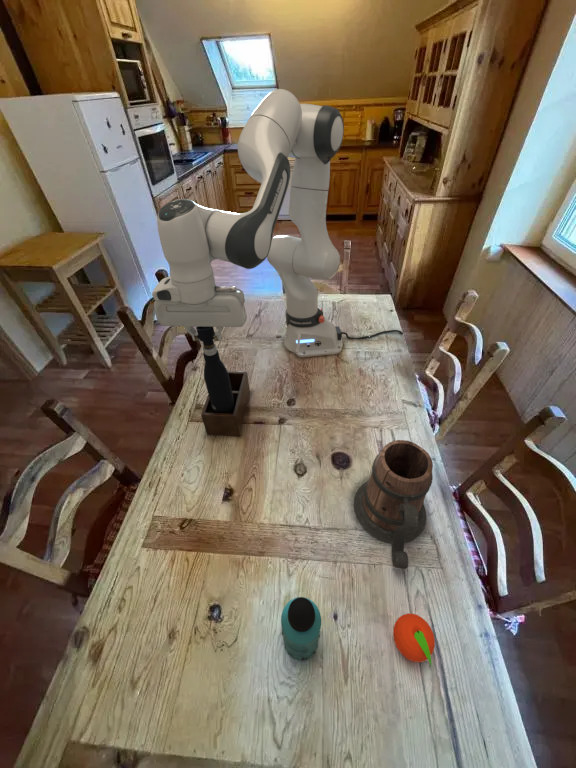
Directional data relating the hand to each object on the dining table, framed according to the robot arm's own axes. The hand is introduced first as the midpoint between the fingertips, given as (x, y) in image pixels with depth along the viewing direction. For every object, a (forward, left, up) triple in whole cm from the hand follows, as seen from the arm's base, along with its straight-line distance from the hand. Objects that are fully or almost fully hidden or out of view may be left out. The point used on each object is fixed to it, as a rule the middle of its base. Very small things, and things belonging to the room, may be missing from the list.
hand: (207, 339), depth 82 cm
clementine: (-45, +51, -31) cm, 75 cm away
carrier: (0, -4, -31) cm, 31 cm away
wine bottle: (0, 0, -26) cm, 26 cm away
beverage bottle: (-25, +52, -31) cm, 65 cm away
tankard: (-45, +28, -31) cm, 61 cm away
